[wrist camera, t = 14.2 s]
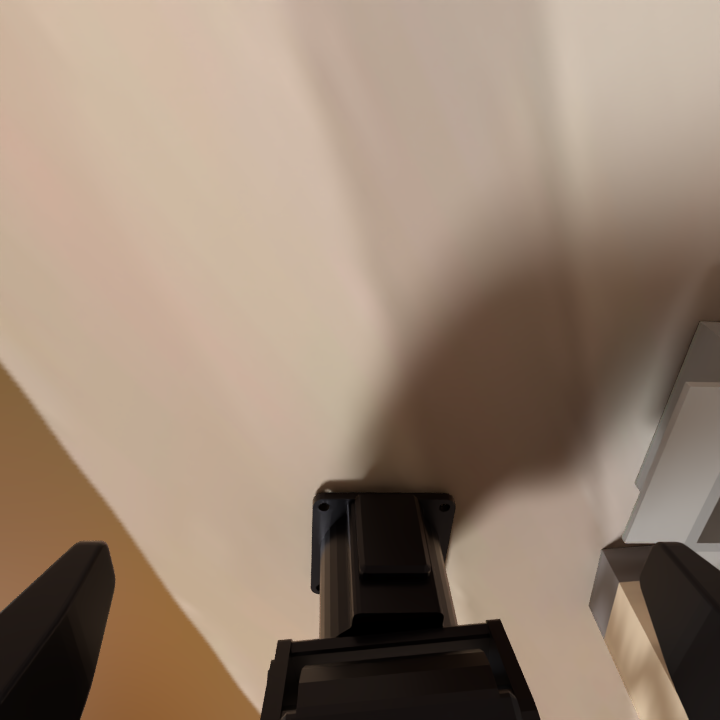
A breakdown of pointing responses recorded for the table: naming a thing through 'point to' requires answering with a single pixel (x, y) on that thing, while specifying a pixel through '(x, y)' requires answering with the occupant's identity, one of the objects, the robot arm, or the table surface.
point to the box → (633, 634)
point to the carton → (685, 458)
